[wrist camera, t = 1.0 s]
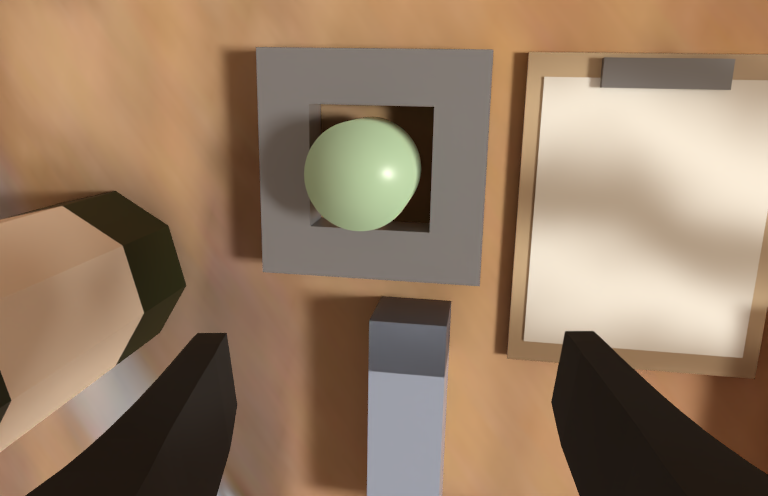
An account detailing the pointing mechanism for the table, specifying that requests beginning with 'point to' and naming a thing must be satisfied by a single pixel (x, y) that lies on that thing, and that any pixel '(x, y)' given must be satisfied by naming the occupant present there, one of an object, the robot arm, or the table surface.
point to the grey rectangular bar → (407, 396)
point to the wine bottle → (77, 300)
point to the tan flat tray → (644, 209)
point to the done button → (362, 173)
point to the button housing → (388, 88)
